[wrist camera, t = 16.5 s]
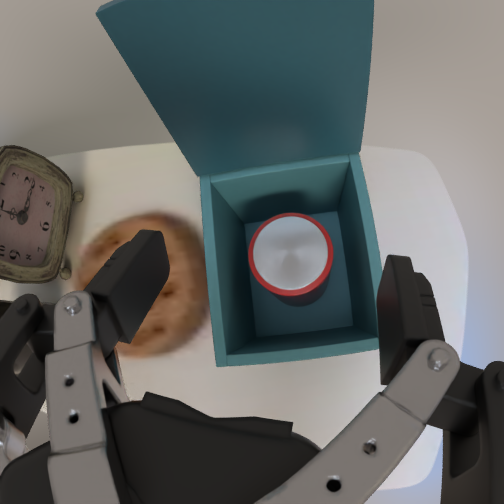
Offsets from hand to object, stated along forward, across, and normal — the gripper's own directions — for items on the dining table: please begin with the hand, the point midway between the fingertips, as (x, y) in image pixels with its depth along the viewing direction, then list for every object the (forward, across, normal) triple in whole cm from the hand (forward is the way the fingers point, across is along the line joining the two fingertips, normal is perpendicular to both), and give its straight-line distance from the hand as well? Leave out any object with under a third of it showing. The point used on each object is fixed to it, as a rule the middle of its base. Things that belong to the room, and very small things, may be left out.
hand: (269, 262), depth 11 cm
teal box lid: (+8, +2, -5) cm, 10 cm away
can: (+17, 0, +15) cm, 22 cm away
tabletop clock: (+19, +33, +14) cm, 40 cm away
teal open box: (+18, 0, +15) cm, 23 cm away
